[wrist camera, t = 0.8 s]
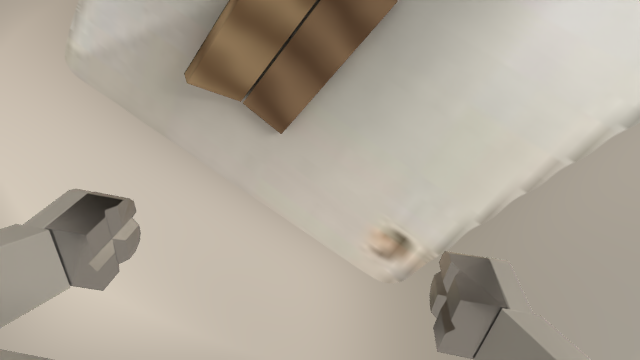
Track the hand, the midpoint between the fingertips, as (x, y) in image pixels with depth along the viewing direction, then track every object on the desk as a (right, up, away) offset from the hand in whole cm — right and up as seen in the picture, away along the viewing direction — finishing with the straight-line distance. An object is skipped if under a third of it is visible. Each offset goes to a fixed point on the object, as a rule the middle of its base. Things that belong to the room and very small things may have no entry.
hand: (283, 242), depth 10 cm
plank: (-5, +19, +29) cm, 35 cm away
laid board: (0, +16, +33) cm, 36 cm away
